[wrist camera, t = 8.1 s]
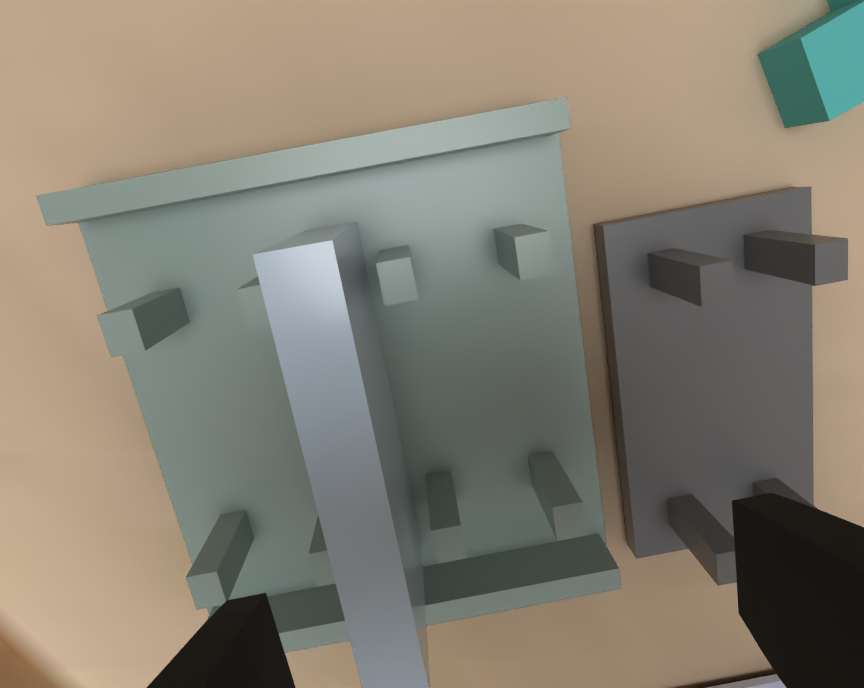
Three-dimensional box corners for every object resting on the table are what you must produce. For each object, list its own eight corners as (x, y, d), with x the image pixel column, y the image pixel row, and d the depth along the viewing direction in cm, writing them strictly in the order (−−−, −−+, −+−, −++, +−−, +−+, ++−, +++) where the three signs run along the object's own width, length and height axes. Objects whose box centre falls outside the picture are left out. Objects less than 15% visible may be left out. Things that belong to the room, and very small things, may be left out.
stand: (797, 511, 20) (886, 583, 17) (627, 544, 20) (678, 623, 16) (792, 186, 17) (898, 186, 14) (594, 224, 17) (646, 233, 14)
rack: (597, 537, 20) (644, 620, 16) (223, 608, 20) (181, 709, 16) (545, 105, 16) (591, 79, 12) (87, 190, 16) (-10, 190, 12)
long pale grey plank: (420, 538, 19) (431, 697, 13) (377, 546, 19) (367, 709, 13) (356, 221, 16) (332, 239, 10) (305, 230, 16) (252, 254, 10)
